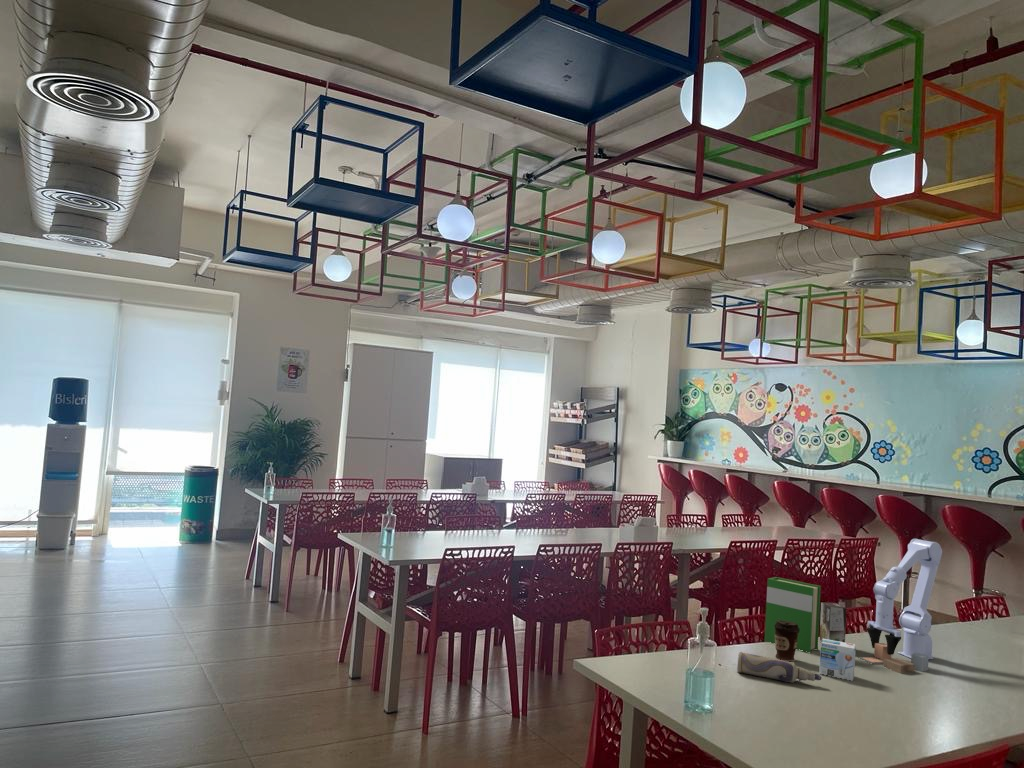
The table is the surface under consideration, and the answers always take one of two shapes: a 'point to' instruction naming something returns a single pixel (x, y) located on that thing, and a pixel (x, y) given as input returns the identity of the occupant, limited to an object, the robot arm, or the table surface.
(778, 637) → the coffee cup
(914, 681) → the table surface
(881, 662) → the swatch
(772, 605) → the hardback book
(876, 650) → the terracotta block
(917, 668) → the slate block
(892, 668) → the walnut slab
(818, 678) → the decorative bottle
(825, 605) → the coffee box
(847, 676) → the light bulb box
